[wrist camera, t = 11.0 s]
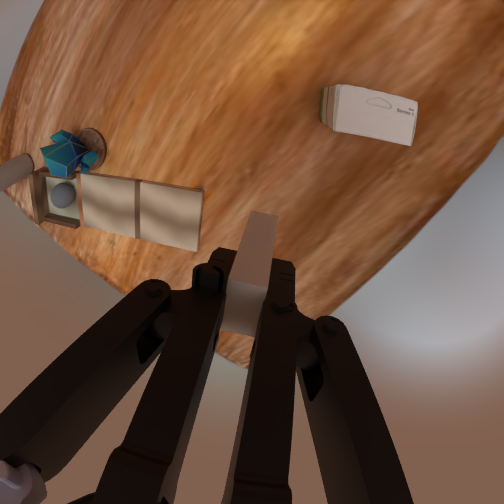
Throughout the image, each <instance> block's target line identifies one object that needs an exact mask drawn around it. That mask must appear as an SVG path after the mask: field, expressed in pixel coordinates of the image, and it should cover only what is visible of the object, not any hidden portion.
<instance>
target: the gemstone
mask: <svg viewBox="0 0 504 504" xmlns="http://www.w3.org/2000/svg"><path fill="white" fill-rule="evenodd" d="M50 138H51V139H52V141H53V142H55V143H56V144H52V145H49V146H46V147H42V148H40V150H41V152H42V155H43V157H44V159H45V162H46V166H45V167H48V169H49V171H50V173H51V175H53V176H58V177H64V178H68V177H69V176H70V175H71V174H72V173H73V172H74V171H75V169H76V168H77V167H78V166H79V167H80V168H81V173H80V174H82V173H88V172H89V171H91V170H95V169H97V168H98V167H100V166H101V165H102V163H103V162H104V160H105V156H106V144H105V141H104V138H103V137H102V135H101V134H100V133H99V132H98V131H97V130H95V129H92V128H86V129H83V130H81V131H79V132H78V133H77V134H76V135H75V136H74V135H73V134H71V133H68V132H66V131H64V130H61V131H59V132H57V133H56V134H54V135H52V136H51V137H50Z"/></svg>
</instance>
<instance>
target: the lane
mask: <svg viewBox="0 0 504 504" xmlns="http://www.w3.org/2000/svg"><path fill="white" fill-rule="evenodd" d="M80 173H81V172H80V171H74V172H73V173H72V174H71V175H70V176H69V177H68V178H64V177H58V176H53V175H51V173H50V171H49V169H48V168H44V167H42V168H40V169H38V170H36V171H34V172H32V173H30V174H29V182H30V191H31V199H32V206H33V212H34V218H35V224H41V223H42V222H43V221H47V222H51V223H55V224H59V225H63V226H67V227H71V228H75V229H77V228H78V227H79V226H80V225H81V226H85V227H89V228H94V229H98V230H102V231H107V232H111V233H115V234H120V235H124V236H128V237H133V238H137V239H141V240H146V241H150V242H155V243H159V244H164V245H168V246H172V247H177V248H181V249H186V250H190V251H195V252H197V251H198V249H199V239H200V228H201V218H202V208H203V199H204V190H199V189H193V188H188V187H182V186H176V185H170V184H164V183H158V182H152V181H145V180H139V179H132V178H125V177H118V176H111V175H104V174H96V173H82V174H80ZM59 183H67V184H69V185H70V186H71V187H72V189H73V191H74V199H73V201H72V203H71V204H70V205H69V206H68V207H66V208H63V209H60V208H57V207H55V206H54V205H53V203H52V201H51V191H52V189H53V188H54V187H55V186H56V185H57V184H59Z"/></svg>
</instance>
